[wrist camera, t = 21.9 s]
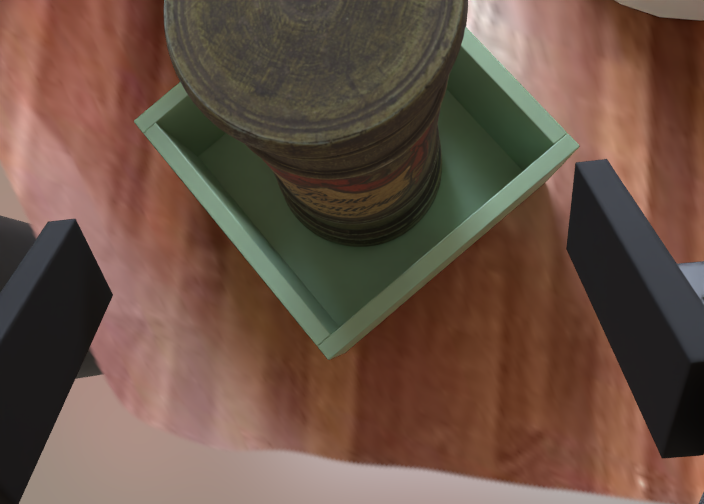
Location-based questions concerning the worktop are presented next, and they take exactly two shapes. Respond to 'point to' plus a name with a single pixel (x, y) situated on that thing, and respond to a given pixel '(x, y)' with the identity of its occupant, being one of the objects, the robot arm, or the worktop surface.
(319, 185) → the container
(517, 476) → the worktop surface
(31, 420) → the robot arm
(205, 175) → the tub
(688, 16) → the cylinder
